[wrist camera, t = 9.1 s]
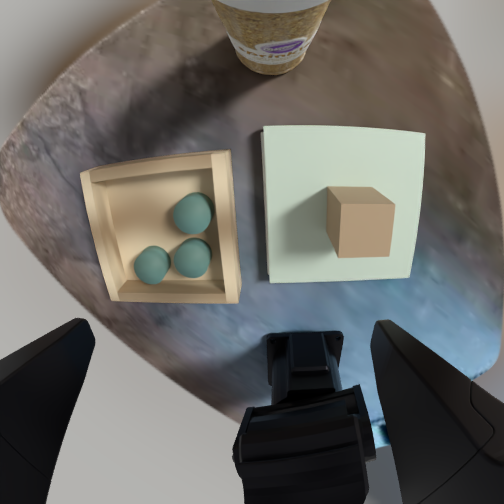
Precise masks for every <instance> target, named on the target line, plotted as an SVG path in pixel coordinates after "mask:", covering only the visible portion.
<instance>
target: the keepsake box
mask: <svg viewBox="0 0 504 504" xmlns="http://www.w3.org/2000/svg"><path fill="white" fill-rule="evenodd" d="M80 177H81V183H82V188H83V194H84V199H85V204H86V209H87V213H88V218H89V222H90V227H91V231H92V235H93V239H94V243H95V247H96V251H97V255H98V258H99V262H100V265H101V269H102V272H103V276H104V279H105V282H106V286H107V289H108V292H109V295H110V298H111V301H126V302H155V303H238V302H239V296H240V291H241V285H242V284H241V272H240V261H239V249H238V237H237V225H236V213H235V200H234V187H233V174H232V161H231V149H226V150H213V151H202V152H192V153H183V154H174V155H166V156H158V157H151V158H144V159H137V160H131V161H124V162H119V163H113V164H107V165H102V166H97V167H94V168H92V169H89V170H86V171H84V172H81V173H80Z"/></svg>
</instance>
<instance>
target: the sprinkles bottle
mask: <svg viewBox="0 0 504 504" xmlns="http://www.w3.org/2000/svg"><path fill="white" fill-rule="evenodd" d="M330 1H331V0H212V2H213V5H214V6H215V8H216V11H217V13H218V15H219V17H220V19H221V21H222V23H223V24H224V26H225V29H226V32H227V34H228V36H229V38H230V40H231V42H232V44H233V46H234V48H235V51H236V54H237V56H238V58H239V59H240V61H241V62H242V63H243V64H244V65H245V66H246V67H248V68H249V69H250V70H252V71H254V72H257V73H261V74H268V75H278V74H284V73H286V72H288V71H290V70H292V69H294V68H295V67H296V66H297V65H298V64H299V63H300V62H301V61H302V60H303V58H304V56H305V53H306V50H307V48H308V47H309V45H310V43H311V41H312V39H313V37H314V35H315V34H316V32H317V30H318V28H319V25H320V22H321V20H322V17H323V15H324V14H325V11H326V10H327V7H328V5H329V3H330Z"/></svg>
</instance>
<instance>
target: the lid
mask: <svg viewBox="0 0 504 504" xmlns="http://www.w3.org/2000/svg"><path fill="white" fill-rule="evenodd" d="M263 128H264V148H265V169H266V192H267V216H268V243H269V273H270V283H295V282H327V281H353V280H375V279H394V278H409V275H410V270H411V265H412V260H413V255H414V249H415V243H416V236H417V230H418V222H419V215H420V206H421V197H422V187H423V174H424V157H425V133H418V132H410V131H401V130H391V129H380V128H366V127H349V126H317V125H288V126H263Z"/></svg>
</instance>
